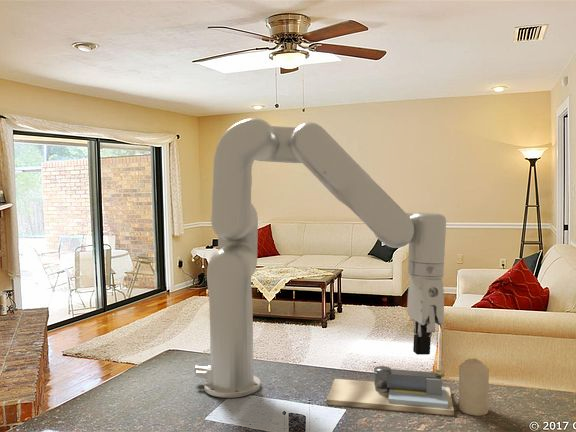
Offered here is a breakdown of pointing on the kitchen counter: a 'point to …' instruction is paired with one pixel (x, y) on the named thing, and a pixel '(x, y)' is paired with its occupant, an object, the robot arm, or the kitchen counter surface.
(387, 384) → the latch bar
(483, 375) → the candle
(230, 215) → the robot arm
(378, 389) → the pivot post
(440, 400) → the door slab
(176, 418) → the kitchen counter surface
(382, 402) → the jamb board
